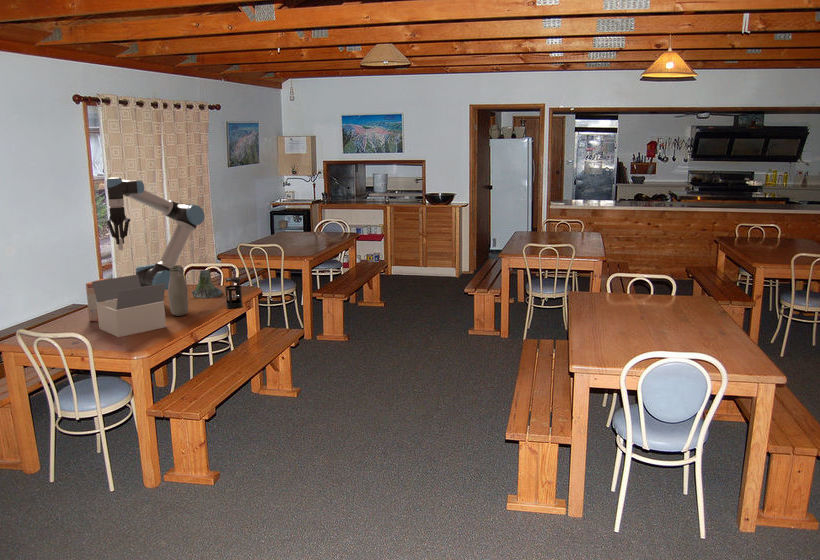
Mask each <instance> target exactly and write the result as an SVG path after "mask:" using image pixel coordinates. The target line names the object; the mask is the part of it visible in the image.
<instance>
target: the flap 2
mask: <svg viewBox="0 0 820 560" xmlns="http://www.w3.org/2000/svg"><path fill="white" fill-rule="evenodd" d="M165 284H166V283H162V284H156V285H150V286H144V287H138V288H132V289H126V290H120V291H118V297H117V299H116V300H117V307H116V309H117V310H119V309H124V308H129V307H135V306H140V305H145V304H151V303H156V302H161V301H163V302H164V299H165V298H164V297H165V291H166V290H165Z"/></svg>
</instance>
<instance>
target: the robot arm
mask: <svg viewBox="0 0 820 560" xmlns="http://www.w3.org/2000/svg"><path fill="white" fill-rule="evenodd" d="M106 190H107V197H108V200H107V201H108V207H109V218H108V219H107V220H105V223H106V225H107V227H108V230H109V232H110V235H111V237H112V238H114V239H115V243H116V245H117V246H118V247H117V249H118V251H124V244H125V238H126V237H127V236H128V232H129V226H130V225H129V224H130V222H131V218H128V217H127V216H126V214H125V213H126V212H125V207H124V206H125V201H124V197H127V198H129V199H131V200H133V201H136V202H139V203H141V204H143V205H144V206H146V207H149V208H152V209H154V210H156V211H158V212H161V213H162V215H164V216H165V217H168V218H169V219H171V220H173V221H175V223H176V227H175V228H174V231H173V233H172V236H171V237H170V240H169V242H168V244H167V245H166V247H165V249H164V251H163V254H162V256H161V257H160V260H159V261H158V262H155V264H154V263H153V264H145V265H140V266H137V267H135V275H138V277H139V281H140V285H141V287H144V286H150V285H156V284H162V283H166V284H165V291H168V285H169V281H170V267H172V266H175V265H176V264H177V263H178V261H179V258H180V256H181V255H182V252H183V250H184V247H185V245H186V243H187V242H188V239H189V238H190V235H191V233H192V232H194V231H196V229H197V227H198V226H199V225H201V224H203V222H204V221H205V212H204V209H203V208H202V207H201V206H200V205H197V204H195V203H193V204H192V203H191V204H190V203H181V202H176V201H173V200H171V199H169V200H167V199H165V198H163V197H160V196H158V195H156V194H155V193H151V192H150V191H147V190H145V184H144V182H143V181H142V180H139V179H138V180H137V179H134V180H133V179H132V180H128V179H122V178H121V177H108V178H107V179H106Z"/></svg>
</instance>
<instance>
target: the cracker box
mask: <svg viewBox="0 0 820 560" xmlns="http://www.w3.org/2000/svg"><path fill="white" fill-rule="evenodd" d="M106 279H107V278H100V279H97V280H95V281H99V280H106ZM92 282H93V281H91V282H86V283H85V290H86V298H87V308H88V309H87V311H88V321H89V322H98V313H97V303H101V302H106V301H112V300H114V299H112V300H106V301H100V302H97V300H96V296H95V292H94V288H93V284H92ZM98 323H99V322H98Z"/></svg>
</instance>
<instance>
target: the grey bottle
mask: <svg viewBox="0 0 820 560" xmlns="http://www.w3.org/2000/svg"><path fill="white" fill-rule="evenodd" d="M184 272H185V270H184V267H183V266H181V265H179V264H178V265H176V264H175V266H172V267H170V281H169V285H168V289H167V293H168V302H169V303H168V305H169V311H170V313H171V315H173V316H176V317H180V316H181V317H182V316H185V315H186V314H187V313H188V311H189V291H188V283H187V281H186V278H185V273H184Z"/></svg>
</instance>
